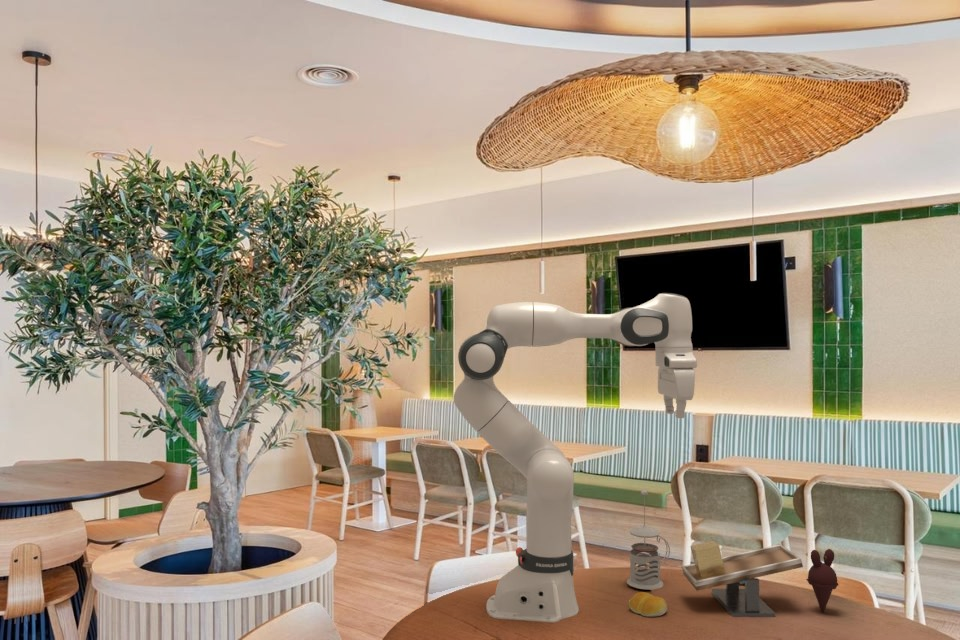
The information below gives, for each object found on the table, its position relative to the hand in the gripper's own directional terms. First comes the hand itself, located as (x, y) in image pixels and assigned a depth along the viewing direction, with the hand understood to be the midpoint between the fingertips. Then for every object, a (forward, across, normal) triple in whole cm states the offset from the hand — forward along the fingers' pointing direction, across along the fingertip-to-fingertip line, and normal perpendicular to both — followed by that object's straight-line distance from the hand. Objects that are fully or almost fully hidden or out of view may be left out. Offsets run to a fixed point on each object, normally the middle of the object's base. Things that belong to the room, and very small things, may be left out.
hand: (674, 415), depth 172 cm
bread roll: (+48, +2, -4) cm, 48 cm away
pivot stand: (+47, -3, +17) cm, 50 cm away
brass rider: (+40, -3, +9) cm, 41 cm away
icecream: (+48, +1, +35) cm, 59 cm away
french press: (+48, -19, -3) cm, 51 cm away
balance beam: (+39, -3, +17) cm, 43 cm away
